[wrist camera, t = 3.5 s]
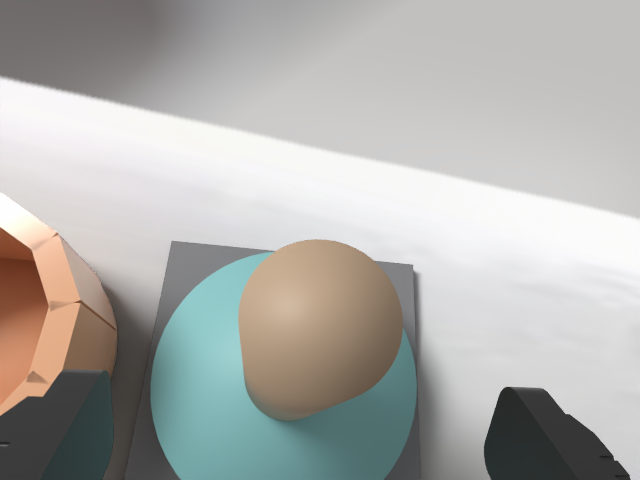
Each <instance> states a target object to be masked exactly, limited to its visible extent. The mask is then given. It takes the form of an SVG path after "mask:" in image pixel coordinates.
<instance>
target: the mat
mask: <svg viewBox="0 0 640 480" xmlns="http://www.w3.org/2000/svg"><path fill="white" fill-rule="evenodd" d="M267 252H275V251H269V250H259V249H249V248H239V247H229V246H219V245H208V244H198V243H188V242H178V241H172V243H171V248H170V253H169V258H168V263H167V268H166V273H165V278H164V283H163V288H162V293H161V298H160V303H159V308H158V313H157V318H156V322H155V327H154V332H153V337H152V342H151V347H150V352H149V357H148V362H147V367H146V372H145V377H144V382H143V387H142V392H141V397H140V402H139V407H138V412H137V417H136V422H135V427H134V432H133V437H132V442H131V447H130V452H129V457H128V462H127V467H126V472H125V477H124V480H181V479H180V478H179V477H178V475H177V474H176V473H175V471H174V469H173V468H172V466H171V464H170V463H169V461H168V460H167V458H166V456H165V454H164V451H163V449H162V447H161V444H160V442H159V440H158V436H157V433H156V429H155V426H154V422H153V416H152V409H151V375H152V367H153V362H154V358H155V354H156V350H157V347H158V344H159V341H160V339H161V336H162V334H163V332H164V329H165V327H166V326H167V324H168V322H169V320H170V318H171V317H172V315H173V313H174V312H175V310H176V309H177V308H178V306H179V305H180V304H181V302H182V301H183V300H184V299H185V297H186V296H187V295H188V294H189V293H190V292H191V291H192V290H193V289H194V288H195V287H196V286H197V285H198V284H200V283H201V282H202V281H203V280H205V279H206V278H207V277H208V276H210V275H211V274H213V273H214V272H216V271H218V270H219V269H221V268H222V267H224V266H226V265H229V264H231V263H233V262H235V261H237V260H240V259H243V258H246V257H249V256H252V255H257V254H262V253H267ZM374 262H376V263H377V264H378V265H379V266H380V267H381V269H382V270H383V271H384V272H385V273H386V275H387V276H388V278H389V279H390V281H391V282H392V284H393V286H394V288H395V290H396V292H397V295H398V298H399V301H400V304H401V309H402V315H403V328H404V330H405V332H406V335H407V338H408V340H409V343H410V346H411V349H412V354H413V358H414V363H415V370H416V380H417V365H416V336H415V308H414V279H413V265H410V264H400V263H390V262H380V261H374ZM384 480H420V452H419V423H418V394H417V392H416V406H415V412H414V419H413V422H412V426H411V429H410V433H409V436H408V438H407V441H406V443H405V446H404V448H403V450H402V453H401V454H400V456H399V458H398V459H397V461H396V463H395V465H394V466H393V468H392V469H391V471H390V472H389V473H388V475H387V476H386V477H385V478H384Z"/></svg>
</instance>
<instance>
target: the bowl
mask: <svg viewBox="0 0 640 480" xmlns="http://www.w3.org/2000/svg"><path fill="white" fill-rule="evenodd" d="M117 345H118V333H117V325H116V319H115V315H114V311H113V308H112V305H111V303H110V301H109V298H108V296H107V294H106V293H105V291H104V289H103V288H102V285H101V282H100V279H99V277H98V276H97V274H96V273H95V272H94V271H93V270H92V269H91V268H90V267H89V266H88V265H87V264H86V263H85V261H84V260H83V259H82V258H81V257H80V256H79V255H78V254H77V253H76V252H75V251H74V250H73V249H72V248H71V247H70V246H69V244H68V243H67V242H66V241H65V240H64V239H63V238H62V237H61V236H60V235H59V234H58V233H57V232H56V231H54V230H53V229H52V228H50V227H49V226H47V225H46V224H45V223H43V222H42V221H40V220H39V219H38V218H36V217H35V216H33V215H32V214H30V213H29V212H28V211H26V210H25V209H23V208H22V207H21V206H19V205H18V204H16V203H15V202H14V201H12V200H11V199H9V198H8V197H6V196H5V195H4V194H2V193H1V194H0V416H1V415H2V414H3V413H5V412H6V411H8V410H9V409H10V408H12V407H13V406H15V405H16V404H17V403H19V402H20V401H22V400H23V399H25V398H26V397H27V396H40V397H43V396H44V394H45V393H46V392H47V390H48V389H49V387H50V386H51V385H52V383H53V382H54V380H55V379H56V377H57V376H58V375H59V373H60V372H61V371H62V370H64V369H84V370H106V371H108V373H109V376H110V381H111V377H112V374H113V371H114V367H115V362H116V356H117Z"/></svg>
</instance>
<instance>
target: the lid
mask: <svg viewBox="0 0 640 480" xmlns="http://www.w3.org/2000/svg"><path fill="white" fill-rule="evenodd" d="M416 392H417V380H416V370H415V363H414V358H413V354H412V349H411V346H410V343H409V340H408V338H407V335H406V332H405V330H404V328H403V315H402V309H401V304H400V301H399V298H398V295H397V292H396V290H395V288H394V286H393V284H392V282H391V281H390V279H389V278H388V276H387V275H386V273H385V272H384V271H383V270H382V269H381V267H380V266H379V265H378V264H377V263H376V262H374V261H373V260H372V259H371V258H370V257H368V256H367V255H366V254H364V253H363V252H361V251H359V250H357V249H356V248H353V247H351V246H349V245H346V244H343V243H339V242H336V241H330V240H305V241H300V242H296V243H293V244H290V245H287V246H285V247H283V248H281V249H279V250H277V251H275V252H267V253H262V254H257V255H252V256H249V257H246V258H243V259H240V260H237V261H235V262H233V263H231V264H229V265H226V266H224V267H222V268H221V269H219V270H218V271H216V272H214V273H213V274H211V275H210V276H208V277H207V278H206V279H205V280H203V281H202V282H201V283H200V284H198V285H197V286H196V287H195V288H194V289H193V290H192V291H191V292H190V293H189V294H188V295H187V296H186V297H185V299H184V300H183V301H182V302H181V304H180V305H179V306H178V308H177V309H176V310H175V312H174V313H173V315H172V317H171V318H170V320H169V322H168V324H167V326H166V327H165V329H164V332H163V334H162V336H161V339H160V341H159V344H158V347H157V350H156V354H155V358H154V362H153V367H152V375H151V409H152V416H153V422H154V426H155V429H156V433H157V436H158V440H159V442H160V444H161V447H162V449H163V451H164V454H165V456H166V458H167V460H168V461H169V463H170V464H171V466H172V468H173V469H174V471H175V473H176V474H177V475H178V477H179V478H180V479H181V480H384V478H385V477H386V476H387V475H388V473H389V472H390V471H391V469H392V468H393V466H394V465H395V463H396V461H397V459H398V458H399V456H400V454H401V453H402V450H403V448H404V446H405V443H406V441H407V438H408V436H409V433H410V429H411V426H412V422H413V419H414V412H415V406H416Z"/></svg>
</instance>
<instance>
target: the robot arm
mask: <svg viewBox="0 0 640 480" xmlns="http://www.w3.org/2000/svg"><path fill="white" fill-rule="evenodd" d="M113 438H114V428H113V413H112V399H111V384H110V376H109V373H108V371H106V370H84V369H64V370H62V371H61V372H60V373H59V375H58V376H57V377H56V379H55V380H54V382H53V383H52V385H51V386H50V387H49V389H48V390H47V392H46V393H45V394H44V396H43V397H40V396H27V397H26V398H25V399H23V400H22V401H20V402H19V403H17V404H16V405H15V406H13V407H12V408H10V409H9V410H8V411H6V412H5V413H3V414H2V415H1V416H0V480H102V478H103V475H104V473H105V471H106V468H107V466H108V463H109V460H110V456H111V452H112V446H113ZM613 457H614V456H613V455H612V454H611V453H610V451H609V450H608V449H607V448H606V447H605V445H604V444H603V443H602V442H601V441H600V439H599V438H598V437H597V436H596V435H595V434H594V433H593V432H592V431H590V430H589V429H588V428H587V427H585V426H584V425H583V424H581V423H580V422H579V421H577V420H576V419H575V418H573V417H572V416H571V415H570V414H565V413H564V412H563V411H562V409H561V408H560V407H559V406H558V404H557V403H556V402H555V401H554V399H553V398H552V397H551V396H550V394H549V393H548V392H547V391H545V390H544V389H542V388H525V387H505V388H504V389H503V390H502V391H501V393H500V395H499V398H498V401H497V405H496V408H495V411H494V414H493V417H492V421H491V424H490V427H489V430H488V434H487V437H486V440H485V445H484V458H485V464H486V468H487V471H488V474H489V476H490V478H491V480H630V475H629V474H628V473H627V472H626V470H625V469H624V468H623V467H622V466H621V464H620V463H619V462H618V461H615V460H614V458H613Z"/></svg>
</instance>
